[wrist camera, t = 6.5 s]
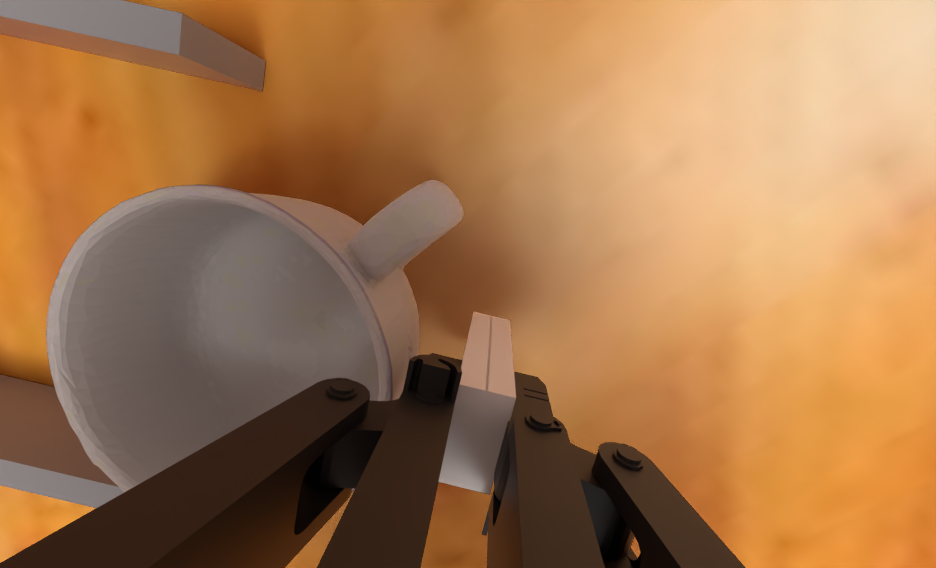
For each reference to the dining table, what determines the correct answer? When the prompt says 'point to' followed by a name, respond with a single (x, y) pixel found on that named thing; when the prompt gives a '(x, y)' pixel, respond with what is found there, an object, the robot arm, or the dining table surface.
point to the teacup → (228, 314)
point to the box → (137, 41)
